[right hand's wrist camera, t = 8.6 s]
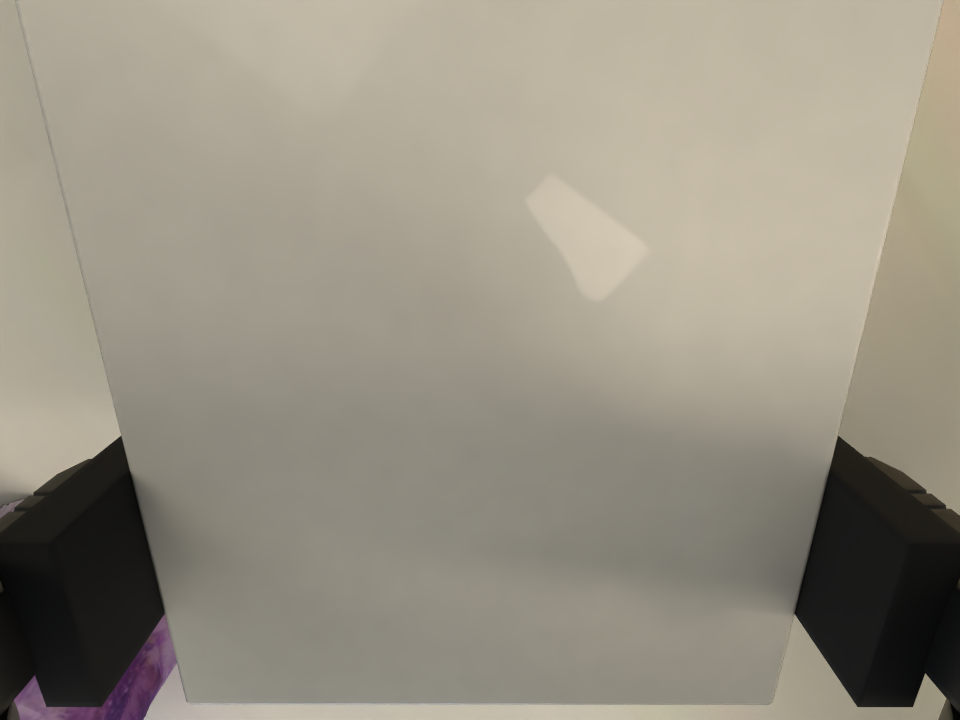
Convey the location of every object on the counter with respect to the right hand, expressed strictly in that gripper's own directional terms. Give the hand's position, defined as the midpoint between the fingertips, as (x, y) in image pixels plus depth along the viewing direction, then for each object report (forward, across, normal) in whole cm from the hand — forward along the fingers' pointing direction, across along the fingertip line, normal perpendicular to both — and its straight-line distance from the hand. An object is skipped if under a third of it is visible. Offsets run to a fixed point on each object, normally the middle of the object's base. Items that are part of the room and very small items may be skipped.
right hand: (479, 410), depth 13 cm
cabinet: (+5, 0, -7) cm, 9 cm away
